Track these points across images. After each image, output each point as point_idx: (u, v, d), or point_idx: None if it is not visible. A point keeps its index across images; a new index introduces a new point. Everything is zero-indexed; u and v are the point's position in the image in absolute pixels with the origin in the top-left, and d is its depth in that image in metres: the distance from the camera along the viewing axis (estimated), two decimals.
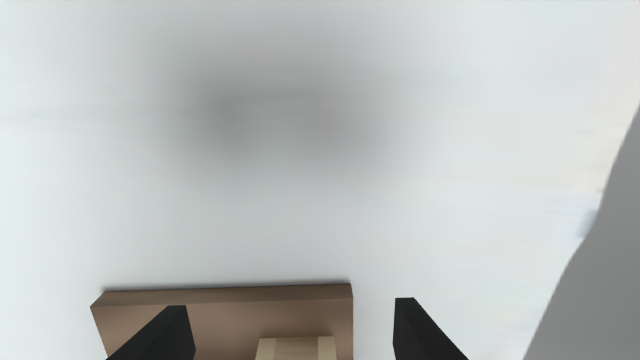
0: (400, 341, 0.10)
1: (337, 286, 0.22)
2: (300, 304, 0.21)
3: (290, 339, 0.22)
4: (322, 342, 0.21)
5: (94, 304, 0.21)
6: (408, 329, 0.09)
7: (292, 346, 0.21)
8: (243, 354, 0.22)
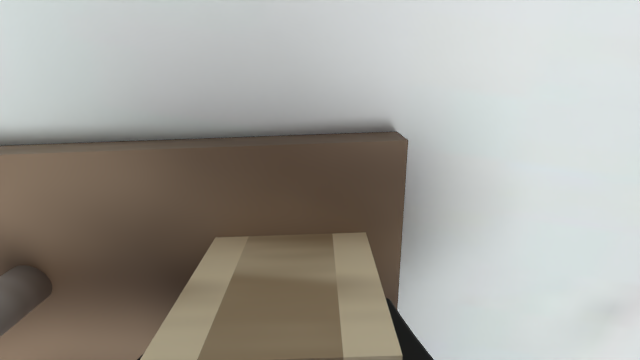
0: None
1: (370, 133, 0.11)
2: (296, 156, 0.10)
3: (276, 237, 0.11)
4: (341, 240, 0.10)
5: None
6: None
7: (280, 246, 0.10)
8: (185, 273, 0.11)
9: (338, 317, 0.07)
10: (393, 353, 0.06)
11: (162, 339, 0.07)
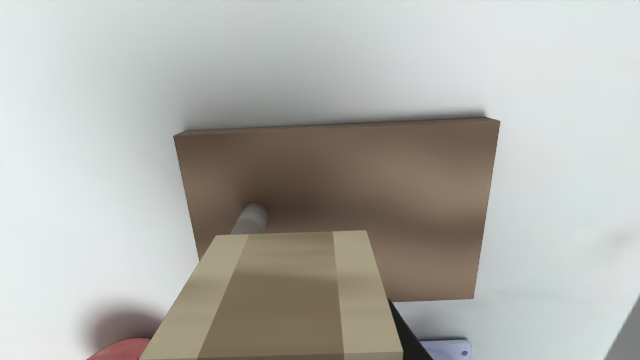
0: None
1: (470, 118, 0.18)
2: (433, 131, 0.17)
3: (277, 235, 0.11)
4: (342, 238, 0.10)
5: (178, 134, 0.17)
6: None
7: (280, 244, 0.10)
8: (353, 207, 0.18)
9: (339, 314, 0.07)
10: (394, 349, 0.06)
11: (163, 335, 0.07)
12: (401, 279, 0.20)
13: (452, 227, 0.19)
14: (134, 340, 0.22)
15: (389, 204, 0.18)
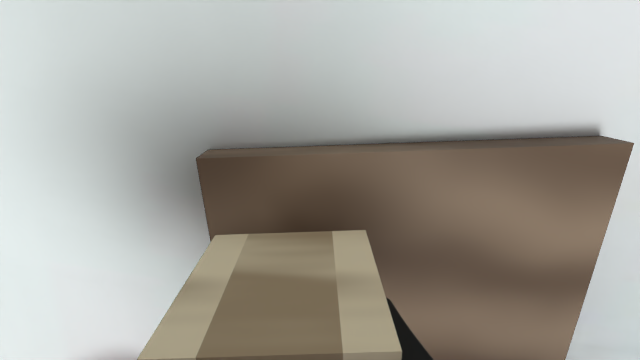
0: None
1: (583, 137, 0.14)
2: (542, 155, 0.13)
3: (276, 235, 0.11)
4: (341, 238, 0.10)
5: (202, 156, 0.13)
6: None
7: (279, 244, 0.10)
8: (427, 250, 0.14)
9: (338, 313, 0.07)
10: (392, 349, 0.06)
11: (162, 334, 0.07)
12: (477, 337, 0.16)
13: (551, 276, 0.15)
14: None
15: (473, 247, 0.14)
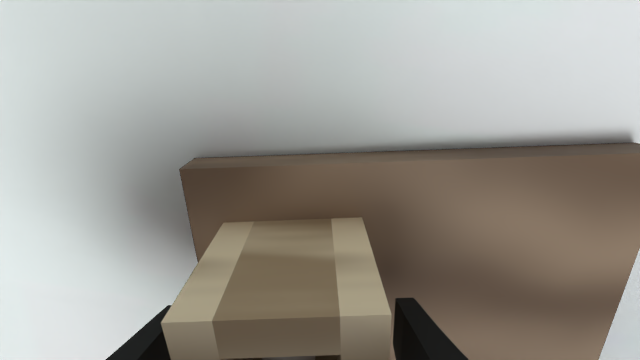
0: (400, 341, 0.10)
1: (614, 144, 0.12)
2: (571, 165, 0.11)
3: (280, 222, 0.12)
4: (339, 224, 0.11)
5: (186, 166, 0.11)
6: (408, 329, 0.09)
7: (283, 229, 0.11)
8: (439, 270, 0.13)
9: (336, 286, 0.08)
10: (383, 313, 0.07)
11: (181, 303, 0.08)
12: None
13: (576, 297, 0.13)
14: None
15: (491, 267, 0.13)
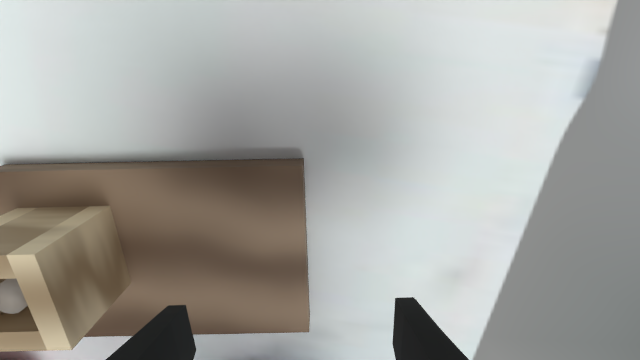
0: (400, 341, 0.10)
1: (286, 159, 0.18)
2: (238, 173, 0.17)
3: (52, 208, 0.17)
4: (88, 210, 0.17)
5: None
6: (408, 329, 0.09)
7: (47, 212, 0.17)
8: (173, 243, 0.19)
9: (28, 242, 0.14)
10: (31, 253, 0.13)
11: None
12: (234, 312, 0.20)
13: (275, 264, 0.19)
14: None
15: (208, 241, 0.19)
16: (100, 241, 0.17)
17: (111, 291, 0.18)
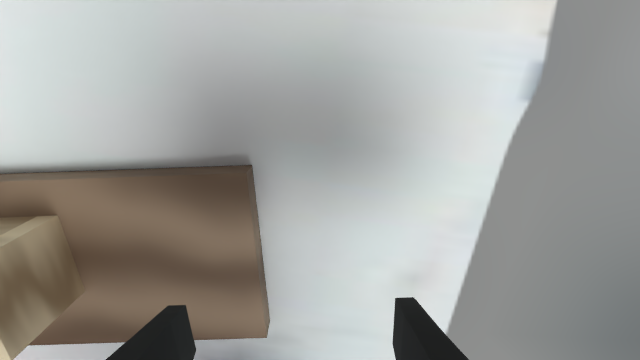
0: (400, 341, 0.10)
1: (234, 166, 0.18)
2: (183, 181, 0.17)
3: (0, 218, 0.18)
4: (34, 220, 0.17)
5: None
6: (408, 329, 0.09)
7: None
8: (124, 251, 0.19)
9: None
10: None
11: None
12: (190, 319, 0.20)
13: (227, 271, 0.19)
14: None
15: (158, 249, 0.19)
16: (46, 251, 0.17)
17: (60, 301, 0.18)
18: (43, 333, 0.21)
